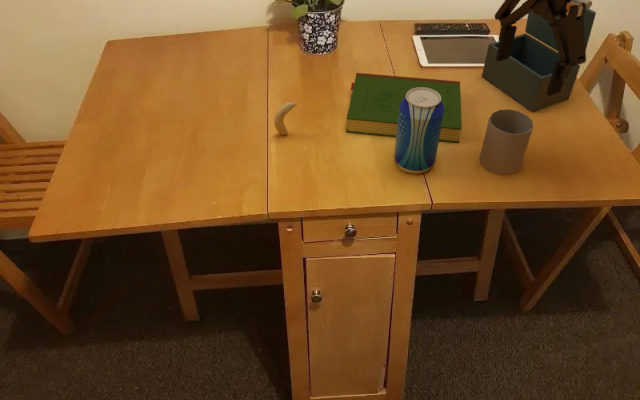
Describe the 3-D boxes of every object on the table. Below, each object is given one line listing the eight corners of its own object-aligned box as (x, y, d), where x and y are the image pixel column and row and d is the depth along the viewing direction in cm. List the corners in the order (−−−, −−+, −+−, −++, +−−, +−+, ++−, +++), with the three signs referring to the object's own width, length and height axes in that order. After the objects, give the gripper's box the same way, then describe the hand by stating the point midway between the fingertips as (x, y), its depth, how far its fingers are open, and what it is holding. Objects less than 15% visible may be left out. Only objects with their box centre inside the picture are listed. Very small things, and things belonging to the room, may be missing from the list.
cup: (512, 179, 116) (524, 139, 109) (473, 165, 119) (483, 125, 112) (526, 157, 121) (539, 117, 114) (488, 144, 124) (498, 104, 117)
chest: (531, 112, 133) (541, 78, 127) (481, 76, 144) (488, 44, 138) (568, 99, 137) (580, 65, 131) (517, 65, 148) (525, 33, 142)
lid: (593, 13, 121) (614, 4, 123) (533, -18, 133) (553, -25, 134) (579, 64, 130) (599, 56, 132) (524, 31, 142) (543, 24, 143)
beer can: (395, 147, 123) (403, 82, 112) (435, 152, 122) (447, 87, 111) (391, 173, 117) (398, 106, 106) (433, 178, 116) (445, 111, 105)
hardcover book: (457, 95, 138) (460, 81, 135) (458, 142, 124) (461, 128, 122) (352, 86, 141) (353, 72, 138) (342, 131, 127) (343, 117, 125)
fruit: (269, 130, 126) (270, 135, 125) (278, 100, 120) (280, 106, 119) (286, 131, 127) (288, 137, 126) (297, 102, 121) (298, 107, 120)
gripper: (490, -61, 101) (468, 50, 115) (602, -6, 85) (560, 114, 99) (523, -67, 103) (498, 41, 118) (638, -16, 87) (592, 103, 102)
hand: (526, 75), depth 109 cm, fingers open, 13 cm apart
